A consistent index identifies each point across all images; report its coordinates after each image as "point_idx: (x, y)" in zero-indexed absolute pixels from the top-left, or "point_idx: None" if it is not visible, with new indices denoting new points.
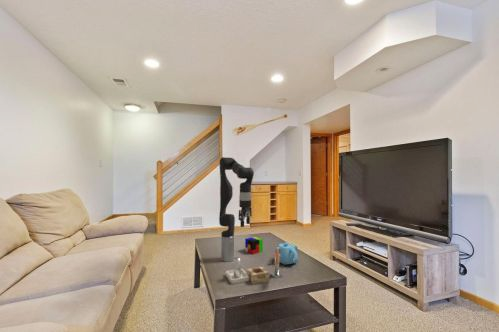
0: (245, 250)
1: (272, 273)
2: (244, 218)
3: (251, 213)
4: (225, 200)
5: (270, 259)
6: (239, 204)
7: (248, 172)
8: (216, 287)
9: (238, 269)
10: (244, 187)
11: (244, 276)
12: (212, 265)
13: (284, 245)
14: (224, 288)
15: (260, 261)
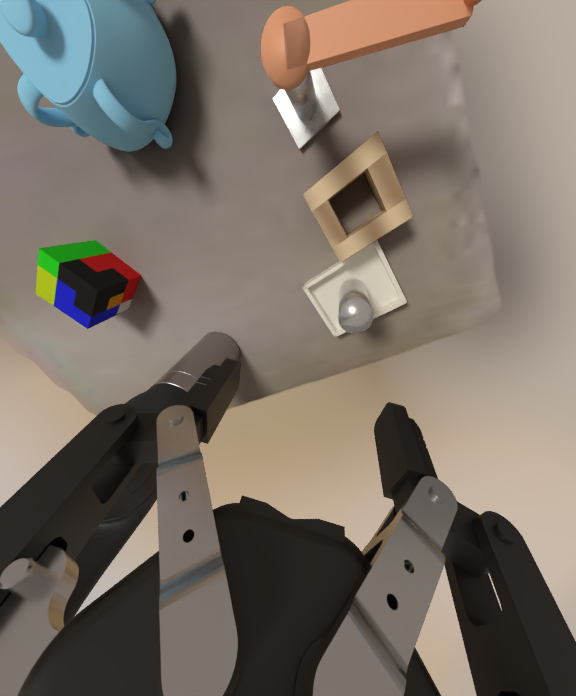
0: (127, 309)
1: (301, 135)
2: (416, 507)
3: (69, 447)
4: None
5: (148, 184)
6: None
7: None
8: (425, 338)
9: (367, 295)
10: None
11: (346, 265)
12: (277, 378)
13: (42, 42)
14: (433, 314)
15: (188, 229)
